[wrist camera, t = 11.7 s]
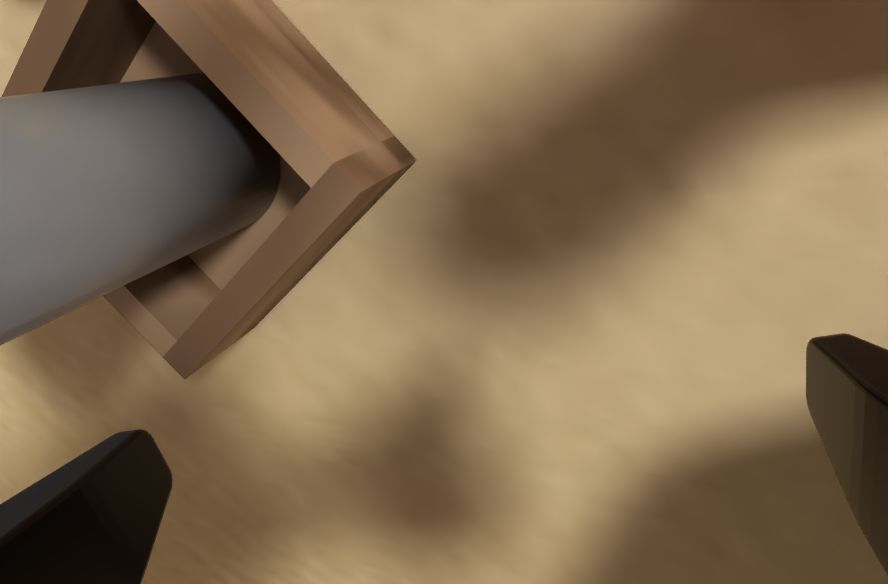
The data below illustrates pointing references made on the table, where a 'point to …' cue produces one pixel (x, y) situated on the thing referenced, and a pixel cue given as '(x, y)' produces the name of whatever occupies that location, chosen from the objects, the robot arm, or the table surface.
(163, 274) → the walnut socket
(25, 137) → the charcoal canister
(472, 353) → the table surface
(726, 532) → the table surface
